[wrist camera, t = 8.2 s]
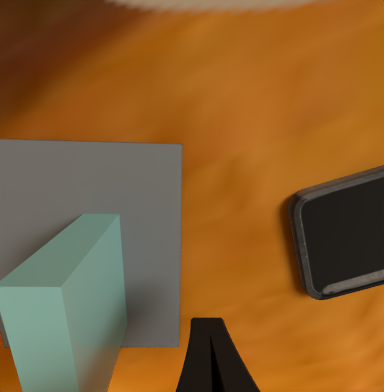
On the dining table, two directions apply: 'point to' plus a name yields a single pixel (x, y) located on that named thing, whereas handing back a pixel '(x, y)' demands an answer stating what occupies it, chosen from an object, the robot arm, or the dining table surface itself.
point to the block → (68, 308)
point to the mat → (101, 204)
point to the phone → (340, 234)
